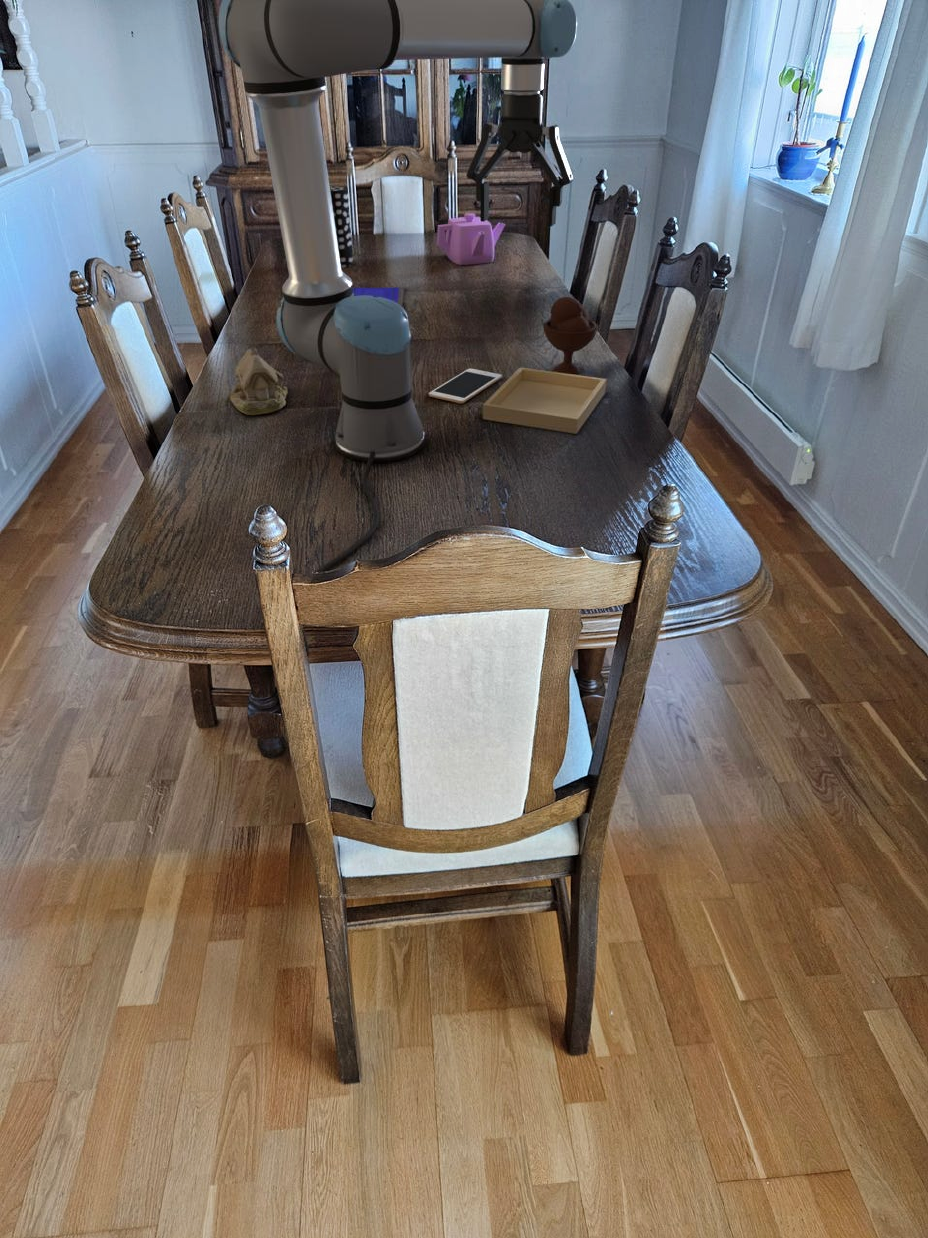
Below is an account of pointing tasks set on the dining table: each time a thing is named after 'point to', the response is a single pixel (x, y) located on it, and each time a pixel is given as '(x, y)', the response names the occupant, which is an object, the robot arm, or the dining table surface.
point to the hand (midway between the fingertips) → (517, 222)
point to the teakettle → (469, 239)
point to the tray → (545, 400)
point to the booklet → (382, 293)
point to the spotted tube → (342, 224)
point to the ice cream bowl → (569, 331)
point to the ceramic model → (257, 386)
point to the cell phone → (465, 385)
